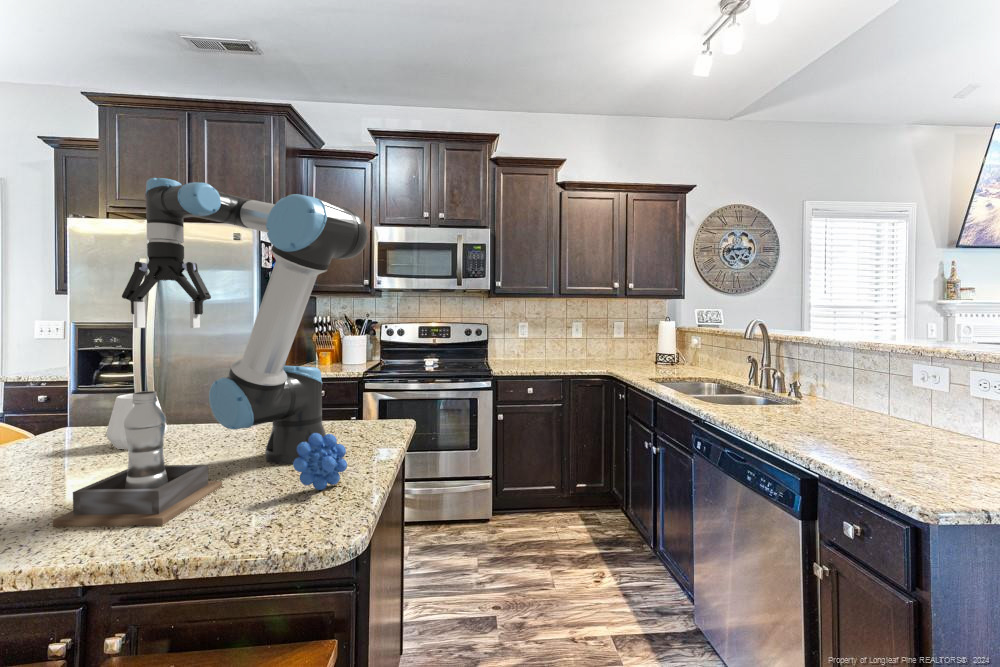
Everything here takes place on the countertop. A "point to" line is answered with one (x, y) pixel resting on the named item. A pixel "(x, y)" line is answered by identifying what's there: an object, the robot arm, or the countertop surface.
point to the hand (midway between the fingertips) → (167, 327)
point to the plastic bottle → (145, 443)
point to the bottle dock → (138, 499)
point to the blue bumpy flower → (320, 461)
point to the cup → (121, 421)
